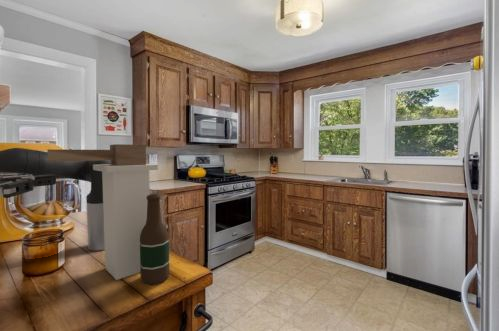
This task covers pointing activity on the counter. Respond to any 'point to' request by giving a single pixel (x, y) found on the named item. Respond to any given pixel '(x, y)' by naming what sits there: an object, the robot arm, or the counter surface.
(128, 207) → the stand
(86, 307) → the counter surface
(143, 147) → the mallet
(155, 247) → the beer bottle
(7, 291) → the counter surface
